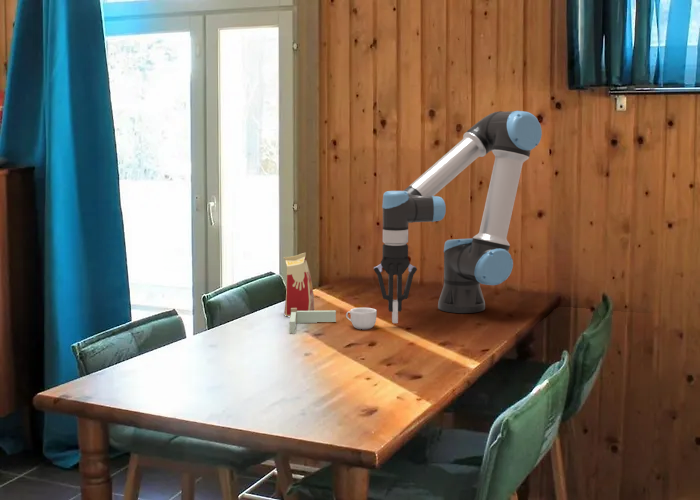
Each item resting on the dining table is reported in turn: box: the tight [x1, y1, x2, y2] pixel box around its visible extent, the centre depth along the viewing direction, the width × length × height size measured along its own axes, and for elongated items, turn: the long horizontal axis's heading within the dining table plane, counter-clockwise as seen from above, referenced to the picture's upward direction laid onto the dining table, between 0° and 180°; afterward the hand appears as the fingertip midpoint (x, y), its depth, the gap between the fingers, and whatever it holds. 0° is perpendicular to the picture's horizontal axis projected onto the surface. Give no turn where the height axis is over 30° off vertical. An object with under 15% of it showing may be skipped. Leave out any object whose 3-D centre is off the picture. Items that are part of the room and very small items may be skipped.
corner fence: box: [289, 308, 337, 334], centre depth 266 cm, size 14×15×4 cm
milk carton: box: [282, 252, 316, 317], centre depth 283 cm, size 9×9×20 cm
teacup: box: [345, 307, 377, 330], centre depth 266 cm, size 10×8×5 cm
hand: (394, 322), depth 266 cm, fingers closed
